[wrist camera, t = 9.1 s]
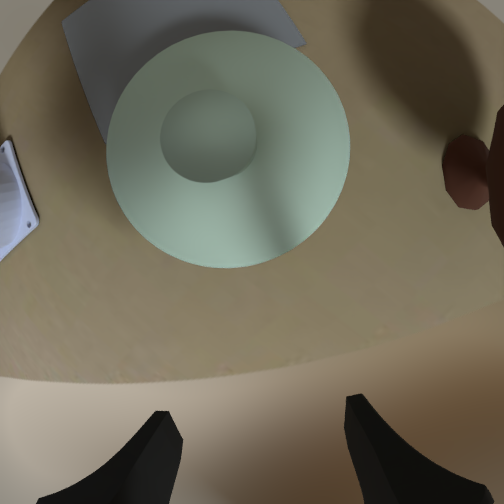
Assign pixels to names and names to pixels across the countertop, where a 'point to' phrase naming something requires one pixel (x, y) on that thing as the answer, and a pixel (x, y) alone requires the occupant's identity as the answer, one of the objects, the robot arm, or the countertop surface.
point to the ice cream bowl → (478, 173)
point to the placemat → (154, 38)
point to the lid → (228, 149)
